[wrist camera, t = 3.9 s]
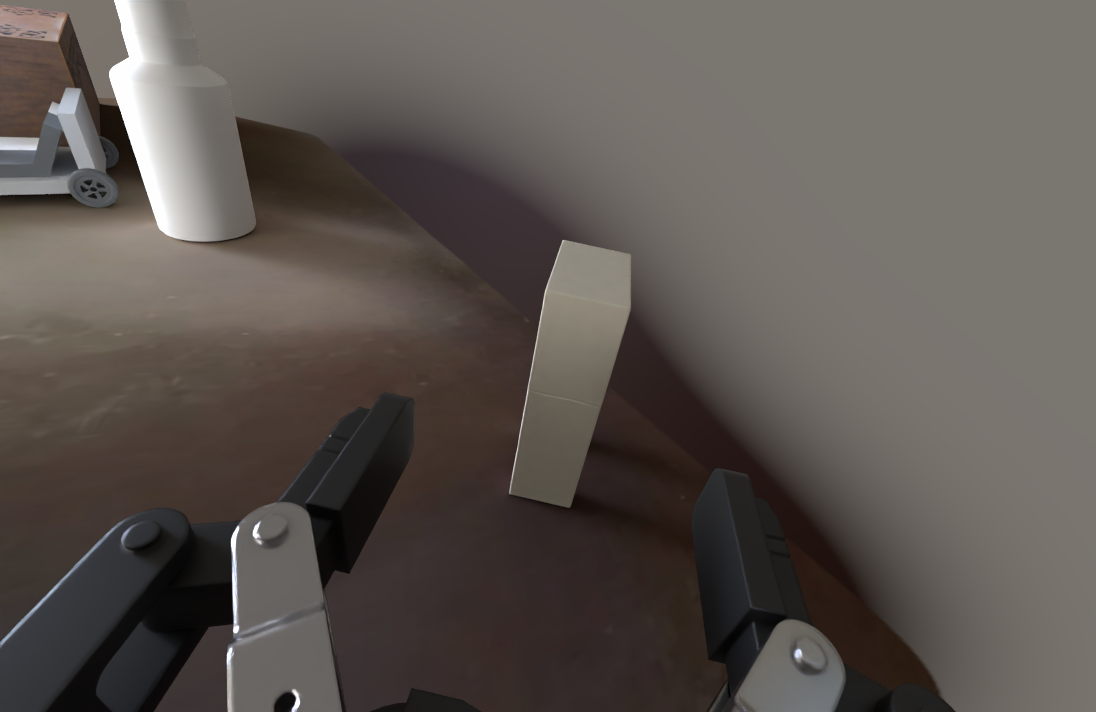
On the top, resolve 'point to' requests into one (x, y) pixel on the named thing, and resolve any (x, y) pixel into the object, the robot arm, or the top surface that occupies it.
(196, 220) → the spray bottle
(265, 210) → the top surface
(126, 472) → the top surface
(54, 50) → the tissue box cover
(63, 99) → the toy car
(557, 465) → the clip
